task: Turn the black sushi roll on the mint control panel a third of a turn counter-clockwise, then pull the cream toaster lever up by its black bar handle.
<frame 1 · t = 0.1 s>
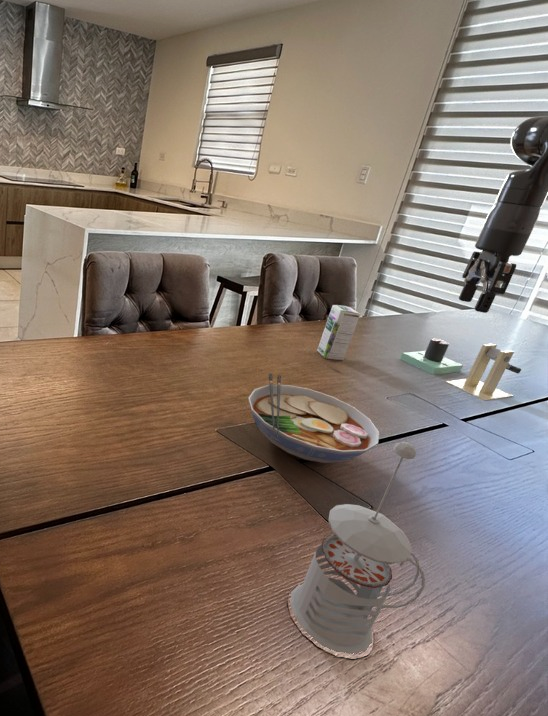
hand: (472, 306, 99), 26 cm above the table, tool pointing down, fingers open, 8 cm apart
syrup box: (329, 356, 136), on the table
dial panel: (428, 368, 136), on the table
wooden stand: (476, 392, 124), on the table
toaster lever: (501, 360, 122), point 9 cm above the table, hinge at -25.0°
black sushi roll: (436, 349, 134), point 6 cm above the table, hinge at 0.0°
ramen bowl: (299, 447, 90), on the table
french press: (336, 622, 56), on the table
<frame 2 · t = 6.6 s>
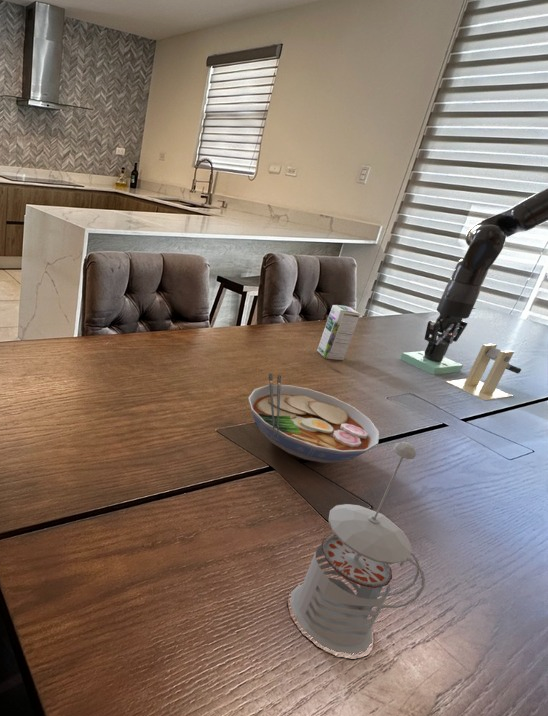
hand: (434, 354, 134), 4 cm above the table, tool pointing down, fingers closed on black sushi roll, 4 cm apart
black sushi roll: (436, 349, 134), point 6 cm above the table, hinge at 0.0°, touching gripper
everything else where it was.
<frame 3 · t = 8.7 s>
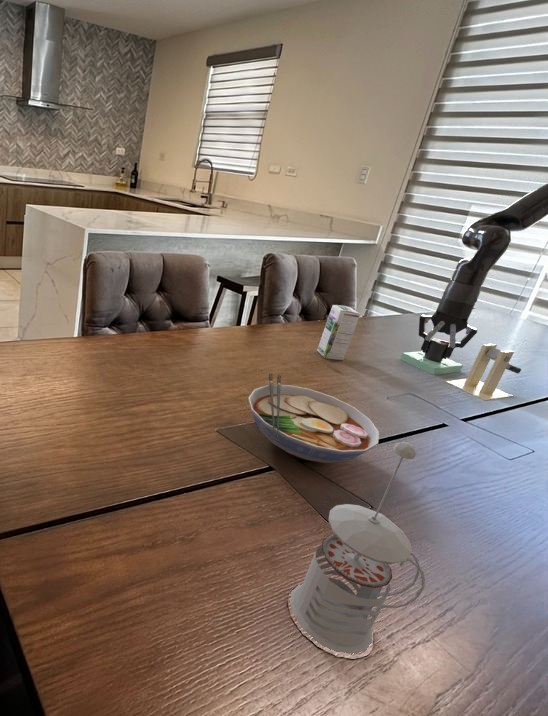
hand: (434, 354, 134), 4 cm above the table, tool pointing down, fingers closed on black sushi roll, 4 cm apart
black sushi roll: (436, 349, 134), point 6 cm above the table, hinge at 124.5°, touching gripper
everything else where it was.
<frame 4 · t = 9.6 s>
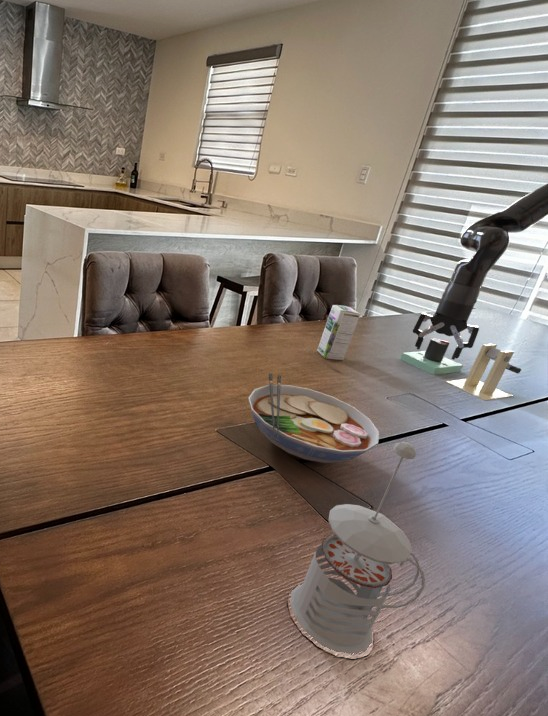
hand: (435, 353, 134), 5 cm above the table, tool pointing down, fingers open, 8 cm apart
black sushi roll: (436, 349, 134), point 6 cm above the table, hinge at 125.0°
everything else where it was.
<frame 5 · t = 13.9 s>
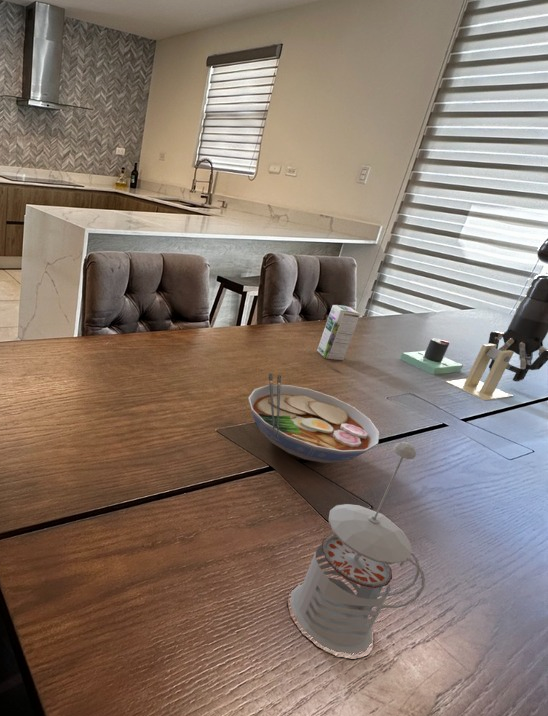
hand: (504, 375, 126), 4 cm above the table, tool pointing down, fingers closed on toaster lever, 5 cm apart
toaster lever: (501, 360, 122), point 9 cm above the table, hinge at -25.0°, touching gripper
everything else where it was.
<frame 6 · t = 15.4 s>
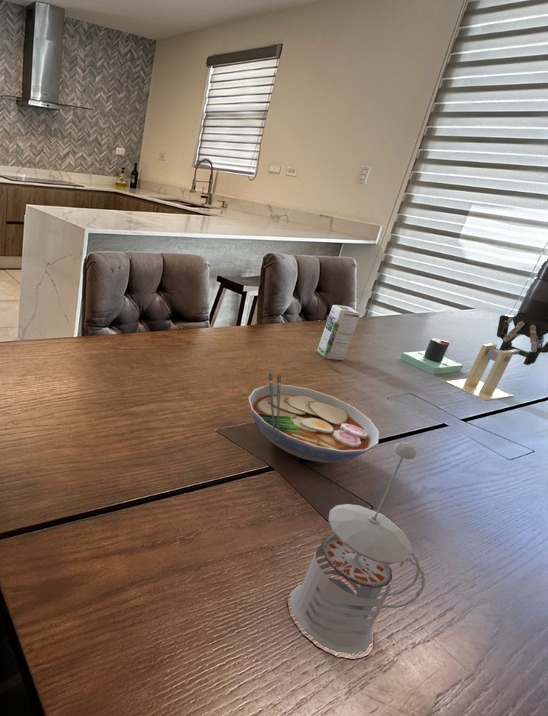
hand: (514, 359, 124), 9 cm above the table, tool pointing down, fingers closed on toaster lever, 5 cm apart
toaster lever: (506, 353, 121), point 11 cm above the table, hinge at 1.5°, touching gripper
everything else where it was.
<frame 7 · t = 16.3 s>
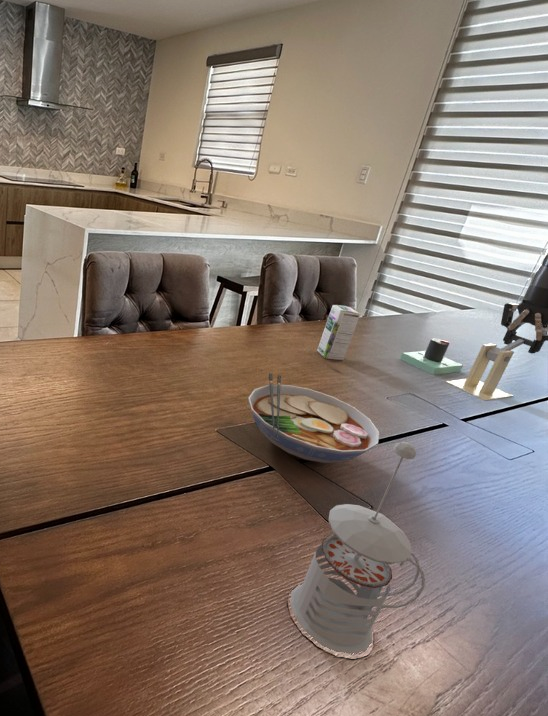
hand: (519, 348, 123), 12 cm above the table, tool pointing down, fingers closed on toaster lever, 5 cm apart
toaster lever: (508, 347, 121), point 13 cm above the table, hinge at 20.0°, touching gripper
everything else where it was.
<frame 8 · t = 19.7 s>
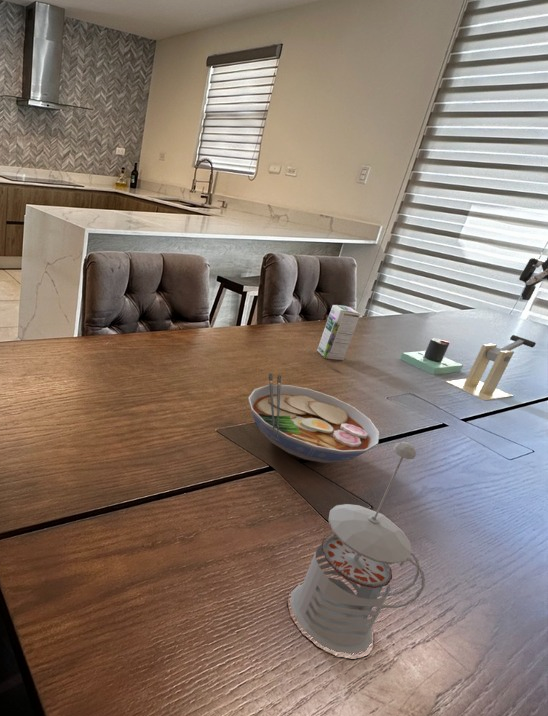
hand: (544, 305, 119), 24 cm above the table, tool pointing down, fingers open, 8 cm apart
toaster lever: (508, 348, 121), point 13 cm above the table, hinge at 19.0°
everything else where it was.
at the end: black sushi roll at +125° (first picture: +0°); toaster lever at +19° (first picture: -25°) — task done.
